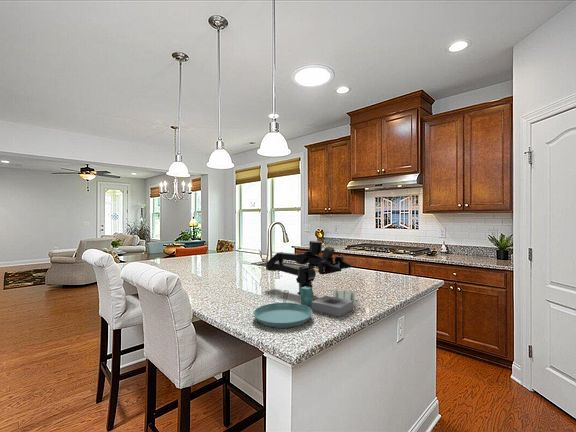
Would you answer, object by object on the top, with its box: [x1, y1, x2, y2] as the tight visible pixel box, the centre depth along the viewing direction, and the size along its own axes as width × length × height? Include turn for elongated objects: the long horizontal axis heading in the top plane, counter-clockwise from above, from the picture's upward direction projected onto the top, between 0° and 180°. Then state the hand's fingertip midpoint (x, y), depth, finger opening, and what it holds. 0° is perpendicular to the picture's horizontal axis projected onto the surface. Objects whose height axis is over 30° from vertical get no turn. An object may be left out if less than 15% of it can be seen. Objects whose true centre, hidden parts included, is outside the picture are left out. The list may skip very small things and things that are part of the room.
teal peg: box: [300, 286, 313, 307], centre depth 141 cm, size 4×4×8 cm
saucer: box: [253, 302, 314, 329], centre depth 123 cm, size 24×24×3 cm
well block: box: [311, 295, 354, 318], centre depth 132 cm, size 14×12×4 cm
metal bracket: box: [331, 289, 361, 306], centre depth 146 cm, size 14×6×15 cm
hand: (346, 268), depth 144 cm, fingers open, 9 cm apart
